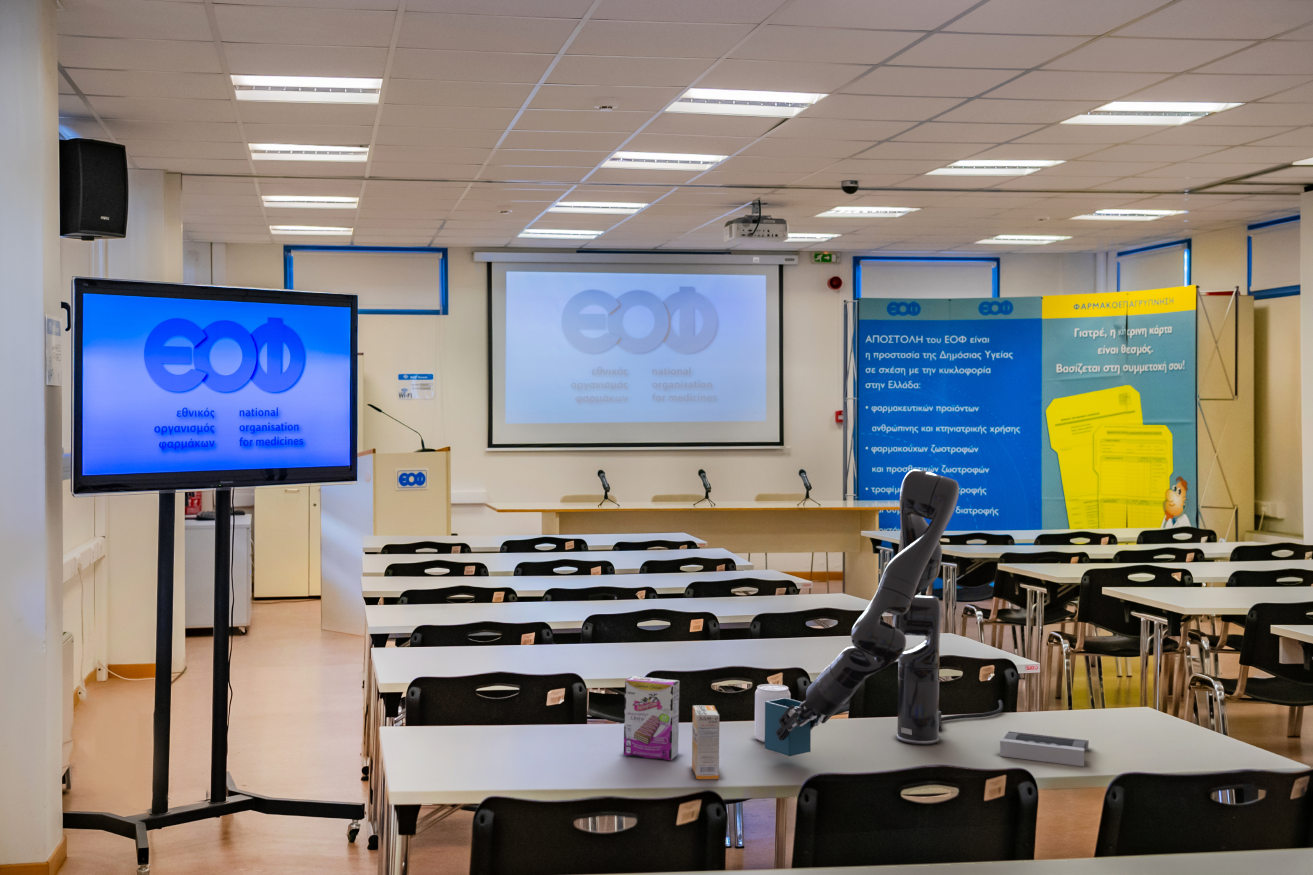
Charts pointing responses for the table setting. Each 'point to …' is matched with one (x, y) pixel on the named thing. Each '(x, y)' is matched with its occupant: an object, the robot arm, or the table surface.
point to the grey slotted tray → (1044, 748)
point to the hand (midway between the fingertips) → (790, 734)
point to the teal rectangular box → (796, 739)
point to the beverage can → (761, 696)
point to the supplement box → (705, 742)
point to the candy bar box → (651, 717)
